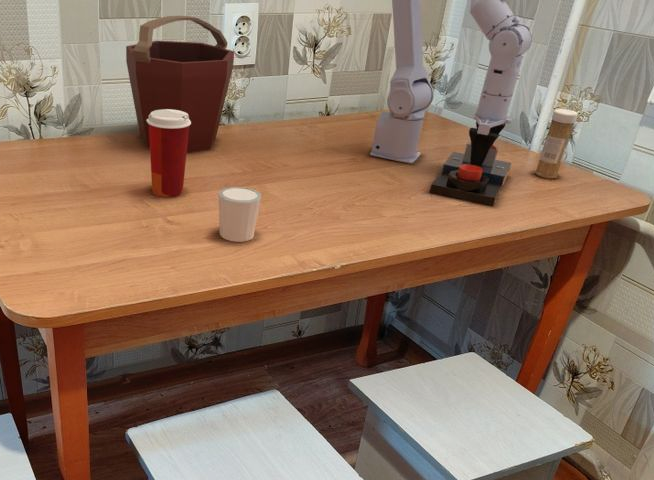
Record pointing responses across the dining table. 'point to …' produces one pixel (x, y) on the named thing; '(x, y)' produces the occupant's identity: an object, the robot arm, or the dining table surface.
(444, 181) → the button box
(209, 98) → the bucket
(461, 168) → the red button
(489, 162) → the tap lever
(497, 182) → the base
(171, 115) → the paper cup
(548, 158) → the spice jar
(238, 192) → the white tapered cup
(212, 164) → the dining table surface
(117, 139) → the dining table surface
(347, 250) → the dining table surface
